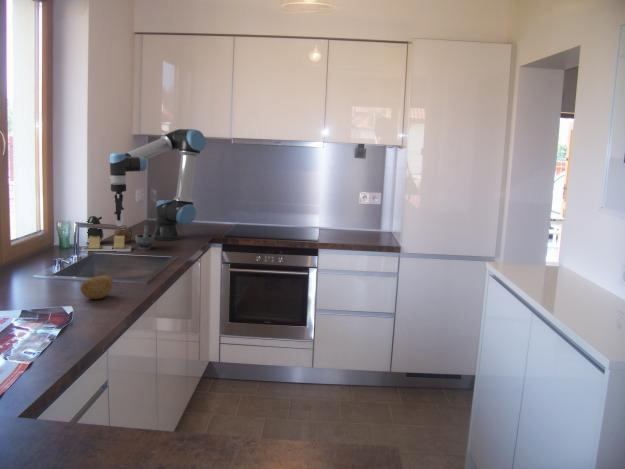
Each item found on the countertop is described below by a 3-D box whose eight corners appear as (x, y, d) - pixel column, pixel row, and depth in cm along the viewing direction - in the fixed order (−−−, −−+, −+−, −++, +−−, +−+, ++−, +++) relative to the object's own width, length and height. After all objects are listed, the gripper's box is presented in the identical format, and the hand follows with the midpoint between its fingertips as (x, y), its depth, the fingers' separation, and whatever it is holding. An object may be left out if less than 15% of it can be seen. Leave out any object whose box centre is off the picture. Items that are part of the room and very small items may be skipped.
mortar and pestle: (151, 250, 292) (151, 228, 290) (133, 250, 291) (133, 227, 289) (156, 246, 303) (156, 225, 301) (138, 246, 302) (138, 224, 300)
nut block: (124, 248, 294) (124, 235, 293) (124, 250, 289) (124, 237, 288) (114, 249, 292) (114, 235, 291) (113, 250, 287) (113, 237, 286)
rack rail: (131, 248, 296) (131, 245, 296) (130, 251, 288) (130, 249, 288) (83, 248, 290) (82, 246, 289) (81, 251, 281) (81, 249, 281)
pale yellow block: (100, 249, 290) (99, 235, 289) (99, 251, 285) (99, 237, 284) (89, 249, 289) (89, 236, 288) (88, 251, 284) (88, 237, 283)
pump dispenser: (107, 243, 306) (107, 216, 304) (90, 245, 297) (90, 217, 295) (96, 241, 312) (96, 214, 309) (79, 243, 303) (79, 215, 301)
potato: (120, 294, 208) (120, 273, 207) (98, 304, 195) (98, 282, 194) (97, 291, 210) (97, 271, 209) (74, 301, 197) (73, 279, 196)
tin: (118, 244, 304) (118, 229, 303) (113, 244, 305) (112, 229, 303) (132, 240, 319) (132, 226, 317) (127, 240, 319) (127, 225, 318)
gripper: (112, 181, 296) (113, 220, 299) (109, 185, 272) (110, 228, 276) (126, 181, 298) (128, 220, 302) (125, 185, 274) (126, 228, 278)
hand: (119, 224), depth 289 cm, fingers open, 13 cm apart
